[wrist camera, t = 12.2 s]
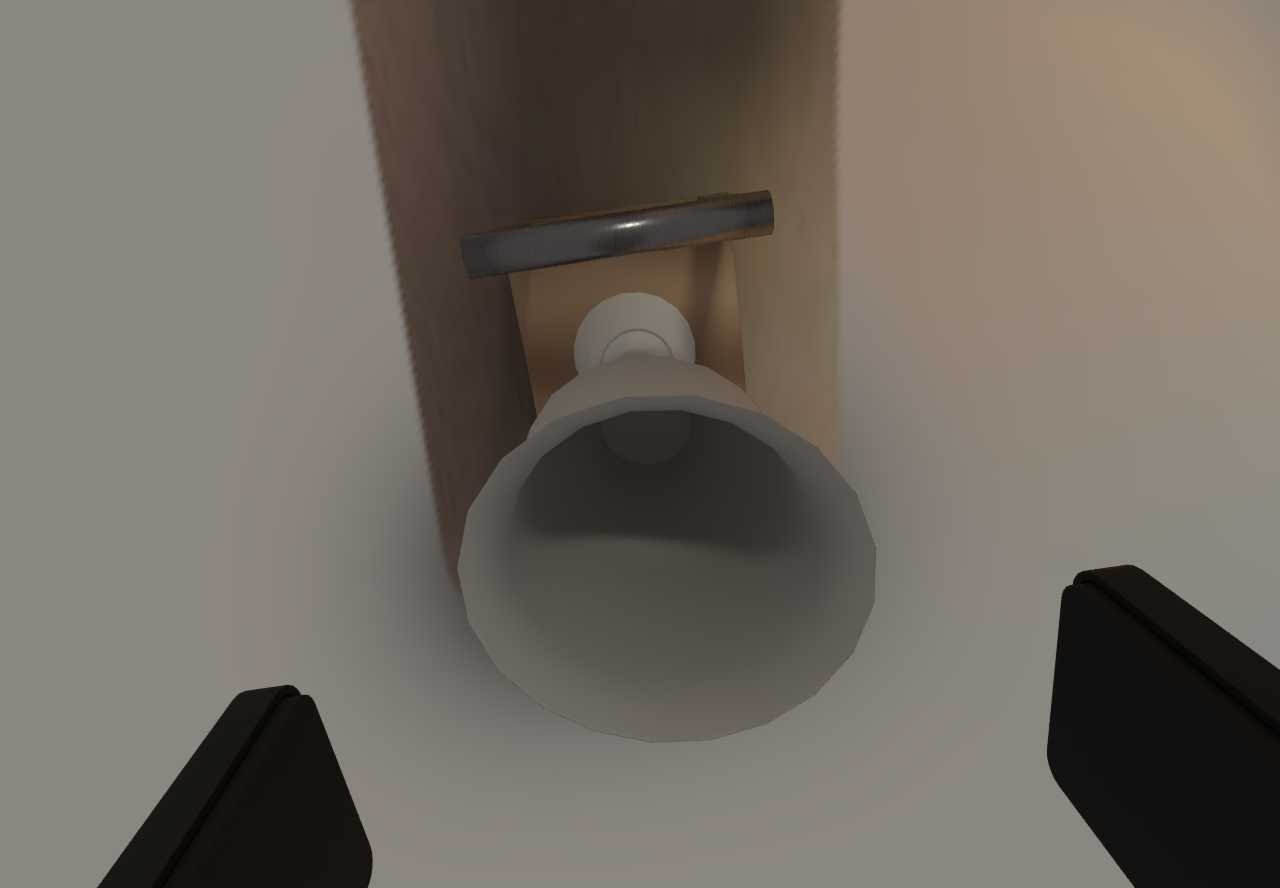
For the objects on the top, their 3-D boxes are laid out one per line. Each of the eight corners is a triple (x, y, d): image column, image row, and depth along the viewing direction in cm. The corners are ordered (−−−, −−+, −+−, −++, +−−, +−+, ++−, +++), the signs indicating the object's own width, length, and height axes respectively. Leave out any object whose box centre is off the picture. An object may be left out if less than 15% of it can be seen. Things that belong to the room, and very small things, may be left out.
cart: (511, 220, 31) (450, 237, 19) (713, 190, 30) (779, 188, 19) (560, 470, 35) (535, 613, 23) (737, 444, 35) (804, 574, 23)
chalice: (522, 392, 29) (404, 670, 12) (584, 238, 27) (544, 319, 10) (679, 455, 30) (766, 786, 14) (749, 313, 28) (954, 496, 12)
